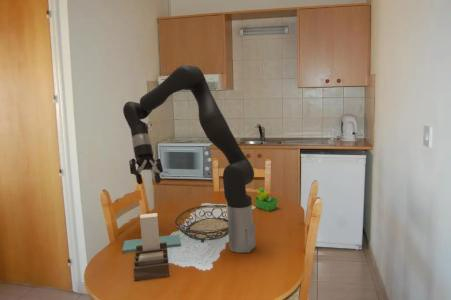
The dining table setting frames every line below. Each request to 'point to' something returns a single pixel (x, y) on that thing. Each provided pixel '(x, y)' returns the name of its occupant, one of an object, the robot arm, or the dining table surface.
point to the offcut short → (151, 253)
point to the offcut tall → (150, 261)
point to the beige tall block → (149, 231)
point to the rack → (151, 270)
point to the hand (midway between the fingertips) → (149, 183)
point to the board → (170, 240)
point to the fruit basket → (265, 200)
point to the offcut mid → (151, 255)
